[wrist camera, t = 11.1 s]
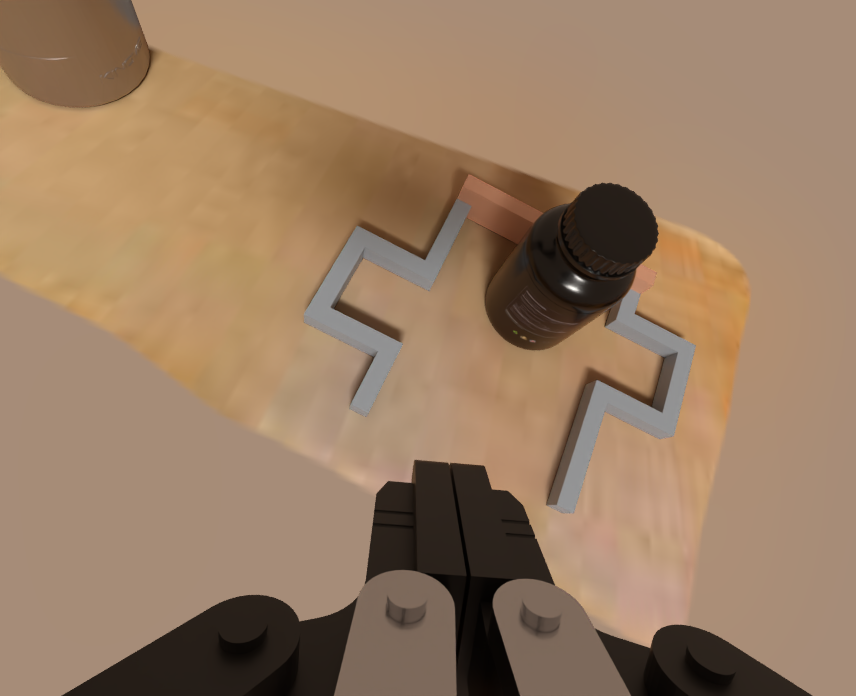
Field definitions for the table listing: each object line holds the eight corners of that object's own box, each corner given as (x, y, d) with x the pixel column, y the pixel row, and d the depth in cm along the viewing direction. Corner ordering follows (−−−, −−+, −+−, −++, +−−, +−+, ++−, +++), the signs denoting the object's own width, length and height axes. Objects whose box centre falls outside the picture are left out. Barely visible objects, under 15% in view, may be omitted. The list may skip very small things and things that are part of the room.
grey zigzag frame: (274, 372, 31) (270, 359, 28) (397, 167, 38) (403, 139, 35) (632, 547, 32) (661, 550, 30) (689, 319, 39) (718, 304, 36)
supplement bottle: (500, 251, 37) (578, 142, 26) (580, 291, 38) (690, 200, 27) (468, 327, 35) (539, 242, 24) (554, 369, 35) (663, 305, 24)
